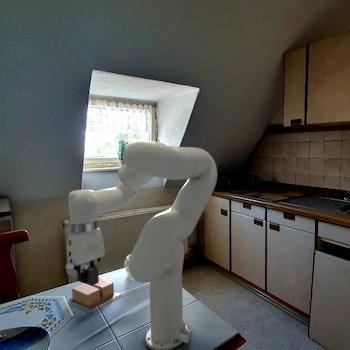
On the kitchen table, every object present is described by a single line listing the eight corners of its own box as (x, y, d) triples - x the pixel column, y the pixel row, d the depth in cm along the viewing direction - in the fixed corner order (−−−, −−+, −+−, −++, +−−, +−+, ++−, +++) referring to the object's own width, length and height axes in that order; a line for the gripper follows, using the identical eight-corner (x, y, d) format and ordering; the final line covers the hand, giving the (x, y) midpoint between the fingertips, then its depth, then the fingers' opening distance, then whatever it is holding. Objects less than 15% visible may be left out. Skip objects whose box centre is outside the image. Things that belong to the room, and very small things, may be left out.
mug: (132, 271, 124) (131, 250, 123) (152, 276, 120) (151, 253, 119) (117, 279, 116) (116, 256, 115) (138, 284, 112) (137, 260, 111)
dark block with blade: (98, 282, 87) (97, 268, 86) (91, 285, 85) (90, 271, 84) (71, 273, 94) (70, 260, 94) (63, 276, 92) (62, 262, 91)
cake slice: (100, 300, 98) (99, 289, 98) (88, 306, 94) (87, 294, 94) (84, 293, 103) (83, 282, 102) (72, 299, 99) (71, 288, 98)
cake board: (121, 296, 103) (120, 294, 103) (90, 312, 92) (90, 310, 92) (99, 288, 109) (99, 285, 109) (68, 302, 99) (68, 300, 99)
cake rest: (114, 293, 103) (113, 282, 103) (103, 298, 99) (102, 287, 99) (98, 287, 108) (98, 276, 108) (87, 292, 104) (87, 281, 104)
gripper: (64, 235, 77) (69, 294, 79) (113, 222, 92) (116, 272, 93) (50, 232, 81) (55, 289, 82) (100, 220, 95) (103, 268, 96)
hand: (88, 279), depth 87 cm, fingers closed on dark block with blade, 2 cm apart
